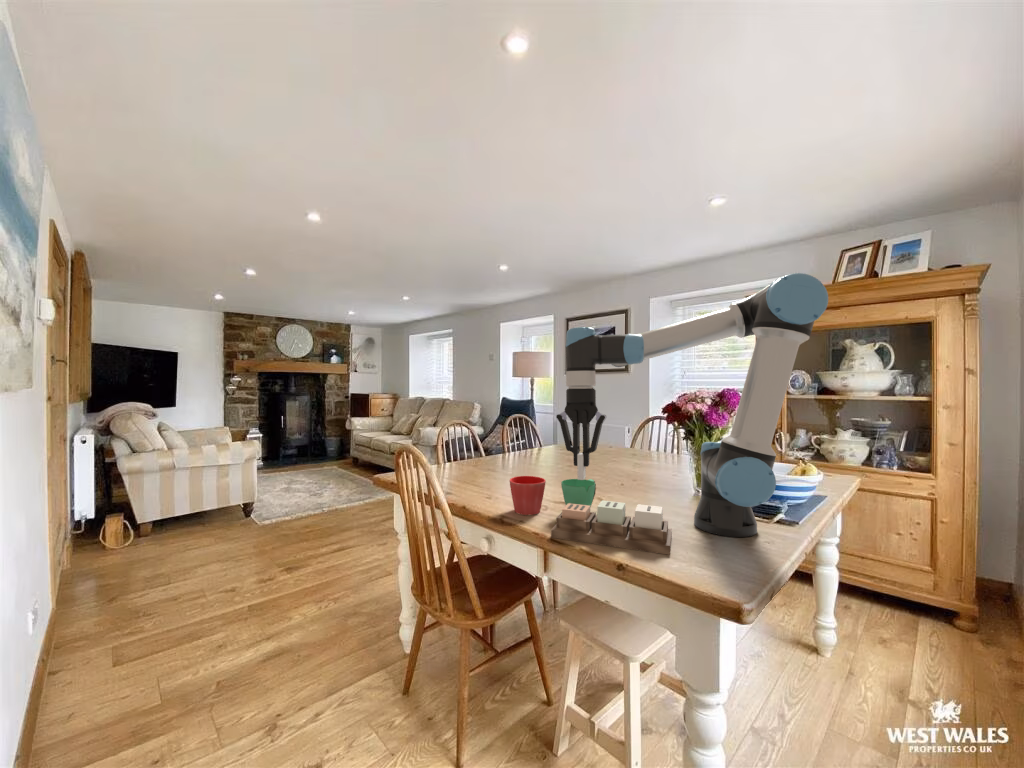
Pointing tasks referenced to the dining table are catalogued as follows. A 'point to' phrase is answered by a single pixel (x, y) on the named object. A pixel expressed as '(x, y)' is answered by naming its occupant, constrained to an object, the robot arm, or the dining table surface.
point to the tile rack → (614, 534)
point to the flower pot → (527, 494)
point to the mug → (578, 491)
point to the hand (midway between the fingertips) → (581, 478)
